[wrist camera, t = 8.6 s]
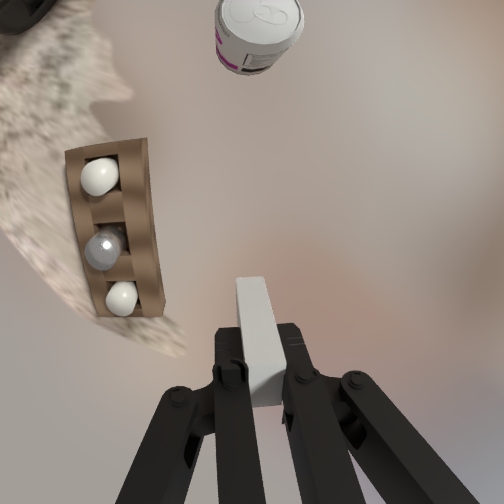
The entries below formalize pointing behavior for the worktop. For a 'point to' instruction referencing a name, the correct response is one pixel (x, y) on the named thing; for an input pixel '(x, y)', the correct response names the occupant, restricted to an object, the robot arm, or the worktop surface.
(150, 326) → the worktop surface
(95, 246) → the middle knob
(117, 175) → the white round piece
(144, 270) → the button panel
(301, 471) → the robot arm
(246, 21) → the supplement can
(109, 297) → the outer button
